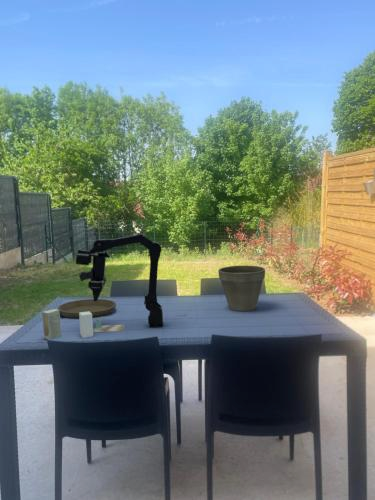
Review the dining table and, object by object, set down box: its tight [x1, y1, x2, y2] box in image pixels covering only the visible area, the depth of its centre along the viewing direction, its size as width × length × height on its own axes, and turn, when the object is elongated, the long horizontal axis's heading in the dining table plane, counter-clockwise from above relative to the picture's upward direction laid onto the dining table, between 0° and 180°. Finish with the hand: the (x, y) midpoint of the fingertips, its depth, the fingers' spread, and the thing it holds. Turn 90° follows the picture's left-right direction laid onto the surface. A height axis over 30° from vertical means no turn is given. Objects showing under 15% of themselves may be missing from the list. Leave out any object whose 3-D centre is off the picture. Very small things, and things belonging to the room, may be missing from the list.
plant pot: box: [218, 265, 266, 312], centre depth 231 cm, size 25×25×22 cm
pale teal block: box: [95, 317, 102, 328], centre depth 201 cm, size 2×2×4 cm
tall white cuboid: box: [78, 311, 94, 339], centre depth 189 cm, size 4×6×10 cm
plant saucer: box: [57, 298, 117, 319], centre depth 233 cm, size 31×31×5 cm
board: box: [93, 324, 126, 333], centre depth 199 cm, size 14×10×1 cm
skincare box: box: [42, 308, 62, 340], centre depth 188 cm, size 6×4×12 cm
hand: (96, 299), depth 200 cm, fingers open, 9 cm apart
